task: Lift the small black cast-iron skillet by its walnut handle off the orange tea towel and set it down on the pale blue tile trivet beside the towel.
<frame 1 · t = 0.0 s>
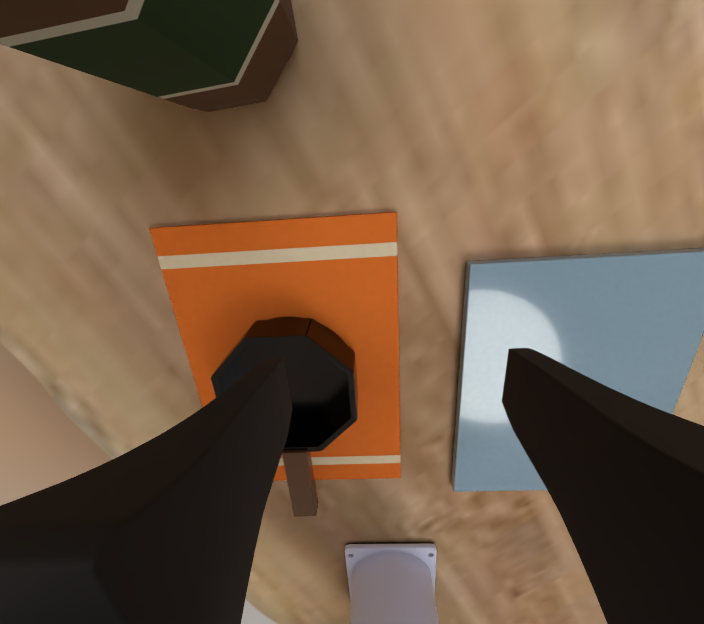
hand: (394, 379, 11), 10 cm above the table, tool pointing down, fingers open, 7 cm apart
tea towel: (295, 370, 23), on the table
skillet: (294, 372, 23), resting on tea towel
trivet: (563, 385, 23), on the table
beer bottle: (220, 22, 16), on the table
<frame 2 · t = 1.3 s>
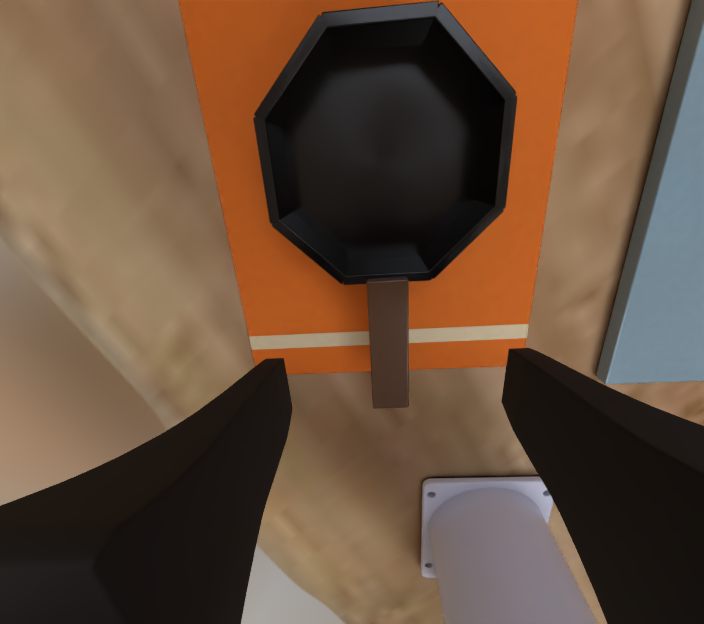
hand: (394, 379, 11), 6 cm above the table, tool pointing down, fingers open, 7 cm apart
tea towel: (380, 165, 14), on the table
skillet: (380, 165, 14), resting on tea towel
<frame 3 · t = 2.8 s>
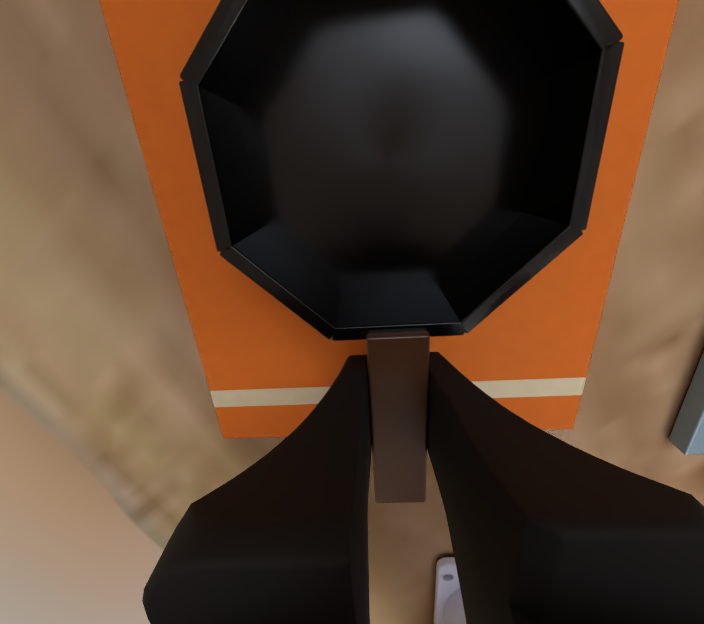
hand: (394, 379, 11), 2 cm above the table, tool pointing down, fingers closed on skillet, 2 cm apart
tea towel: (386, 161, 10), on the table
skillet: (386, 161, 10), resting on tea towel, touching gripper
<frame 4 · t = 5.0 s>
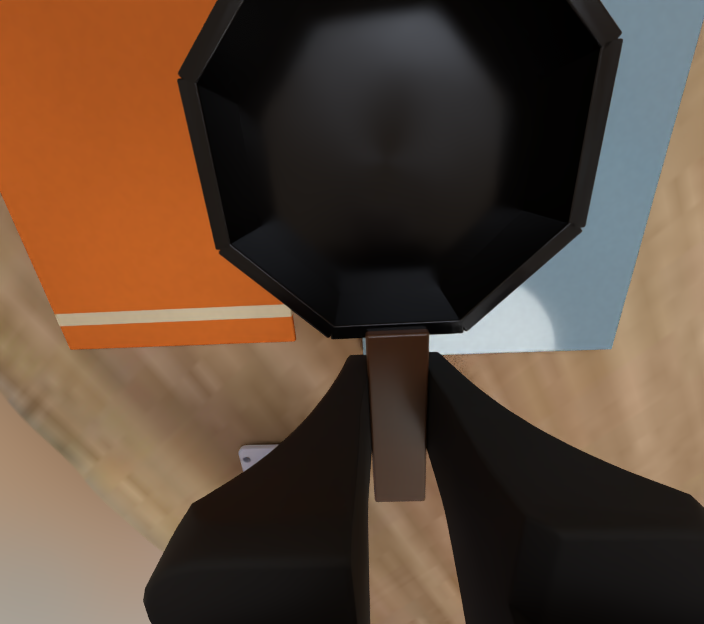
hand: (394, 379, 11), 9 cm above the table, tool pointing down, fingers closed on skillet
tea towel: (131, 165, 17), on the table
skillet: (385, 160, 10), point 7 cm above the table, touching gripper
trivet: (497, 186, 17), on the table
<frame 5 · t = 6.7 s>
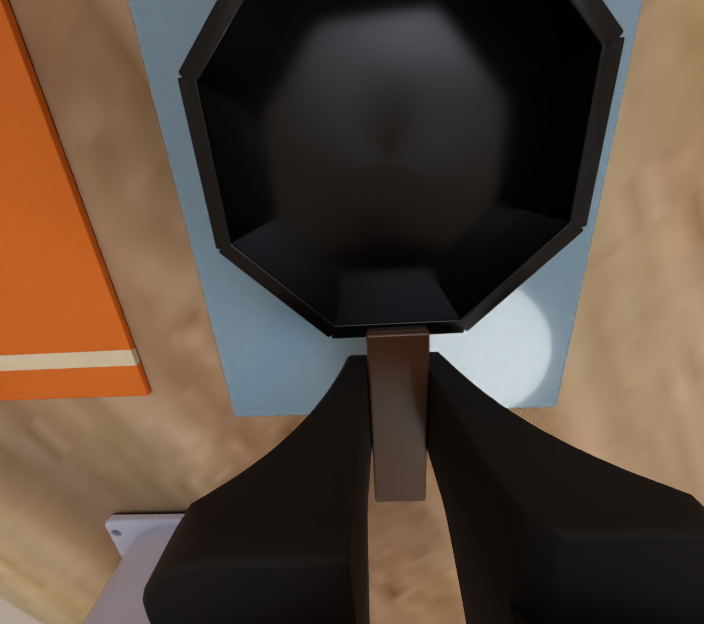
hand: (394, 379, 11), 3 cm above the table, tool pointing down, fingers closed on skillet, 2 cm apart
skillet: (386, 159, 10), point 2 cm above the table, touching gripper
trivet: (383, 193, 12), on the table
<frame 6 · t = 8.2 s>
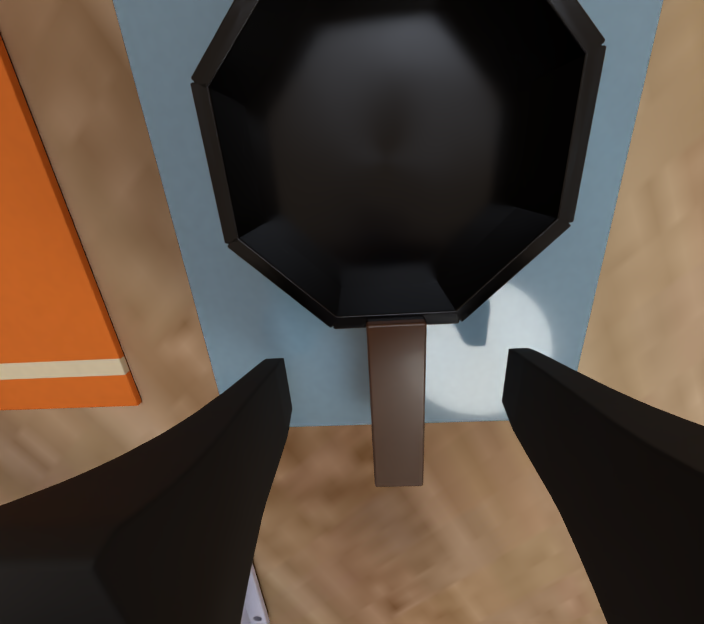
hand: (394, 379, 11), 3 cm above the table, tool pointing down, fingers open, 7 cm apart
skillet: (385, 158, 10), point 1 cm above the table, touching trivet
trivet: (385, 194, 11), on the table
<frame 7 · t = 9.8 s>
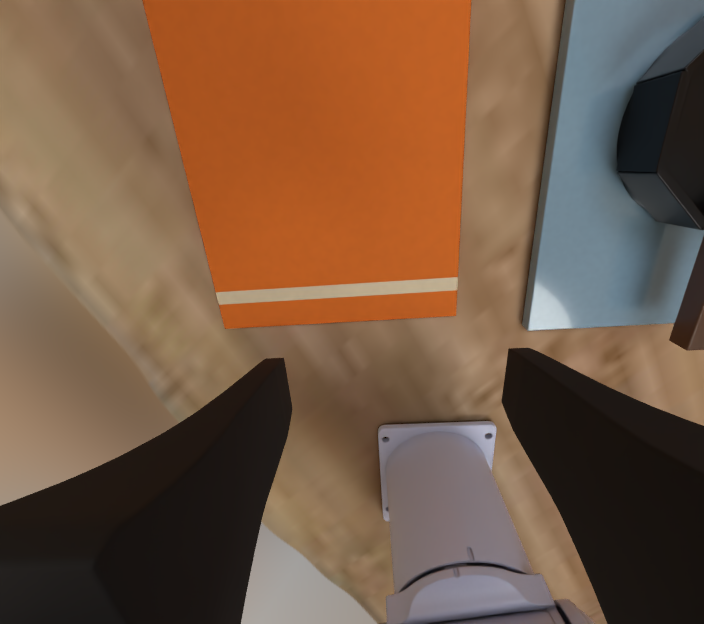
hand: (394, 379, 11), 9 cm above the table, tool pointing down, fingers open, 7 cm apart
tea towel: (319, 136, 17), on the table
trivet: (692, 149, 16), on the table
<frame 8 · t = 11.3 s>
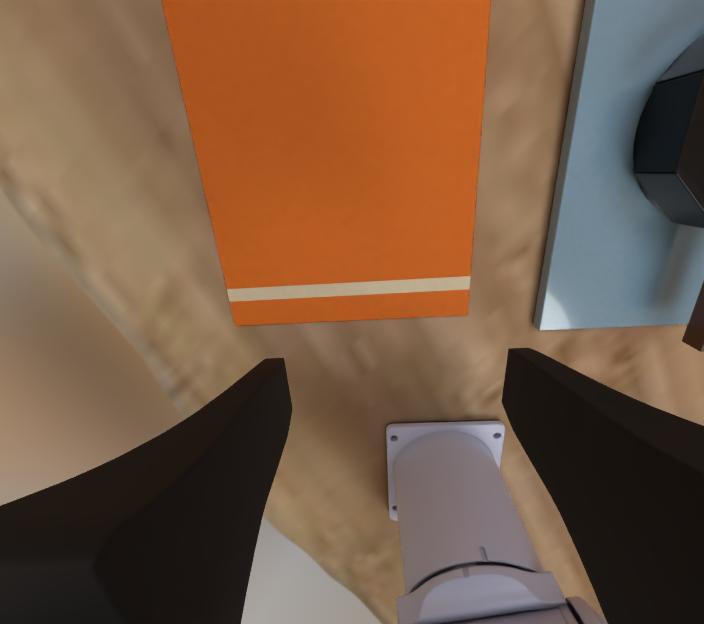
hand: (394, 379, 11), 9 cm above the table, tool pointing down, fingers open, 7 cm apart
tea towel: (334, 133, 17), on the table
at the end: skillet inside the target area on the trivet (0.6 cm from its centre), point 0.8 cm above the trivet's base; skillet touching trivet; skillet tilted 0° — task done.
